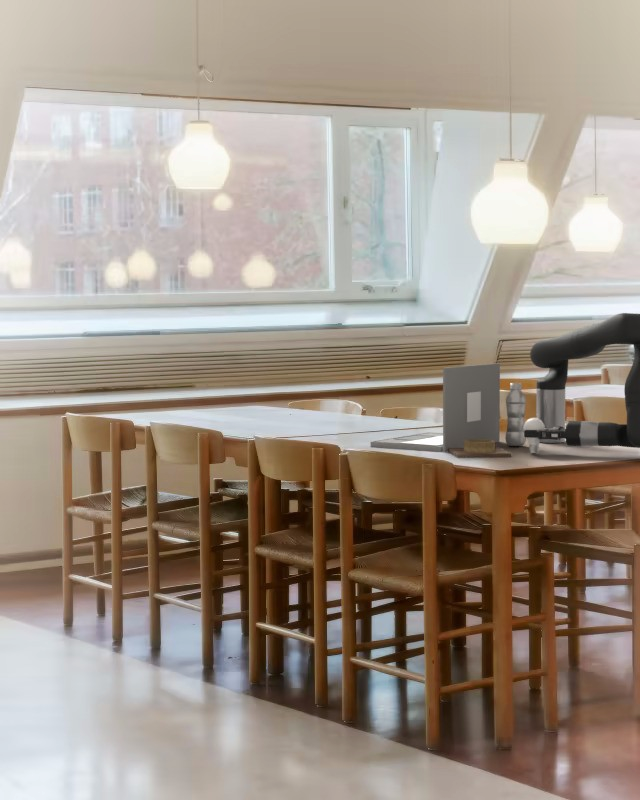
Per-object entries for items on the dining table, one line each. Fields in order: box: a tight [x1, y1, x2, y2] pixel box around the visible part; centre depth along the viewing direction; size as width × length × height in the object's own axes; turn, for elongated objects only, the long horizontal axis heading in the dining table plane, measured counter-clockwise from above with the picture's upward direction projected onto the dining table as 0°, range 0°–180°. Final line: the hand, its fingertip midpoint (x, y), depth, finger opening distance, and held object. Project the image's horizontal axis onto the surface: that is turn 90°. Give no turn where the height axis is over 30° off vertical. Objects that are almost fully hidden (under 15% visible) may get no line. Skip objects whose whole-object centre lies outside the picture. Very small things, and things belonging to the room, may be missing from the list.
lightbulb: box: [523, 417, 545, 455], centre depth 389 cm, size 6×6×11 cm
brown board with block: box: [448, 439, 512, 458], centre depth 391 cm, size 16×16×4 cm
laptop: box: [370, 362, 501, 453], centre depth 418 cm, size 35×28×26 cm
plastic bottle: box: [505, 382, 527, 448], centre depth 410 cm, size 6×7×20 cm
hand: (526, 432), depth 389 cm, fingers closed on lightbulb, 6 cm apart
